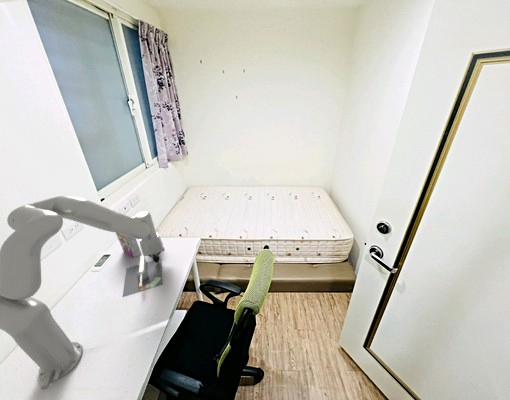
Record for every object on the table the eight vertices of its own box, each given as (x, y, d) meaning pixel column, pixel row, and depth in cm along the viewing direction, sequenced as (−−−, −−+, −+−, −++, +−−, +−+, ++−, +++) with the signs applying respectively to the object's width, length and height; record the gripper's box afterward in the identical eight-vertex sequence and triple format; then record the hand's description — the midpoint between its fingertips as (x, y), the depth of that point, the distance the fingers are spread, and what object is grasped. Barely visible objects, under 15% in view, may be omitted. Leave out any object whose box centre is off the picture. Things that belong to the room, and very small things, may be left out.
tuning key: (148, 289, 106) (146, 283, 104) (137, 293, 105) (134, 287, 103) (149, 259, 125) (147, 254, 123) (139, 262, 123) (137, 256, 121)
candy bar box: (123, 253, 133) (114, 231, 125) (131, 248, 136) (122, 226, 128) (134, 259, 127) (125, 237, 119) (142, 254, 131) (134, 232, 123)
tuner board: (163, 286, 110) (162, 284, 109) (123, 299, 104) (122, 297, 103) (161, 260, 126) (161, 258, 125) (127, 269, 120) (126, 268, 120)
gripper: (131, 242, 108) (142, 270, 116) (164, 234, 112) (171, 261, 121) (132, 234, 114) (142, 260, 122) (163, 227, 119) (170, 253, 127)
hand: (157, 261), depth 122 cm, fingers closed
